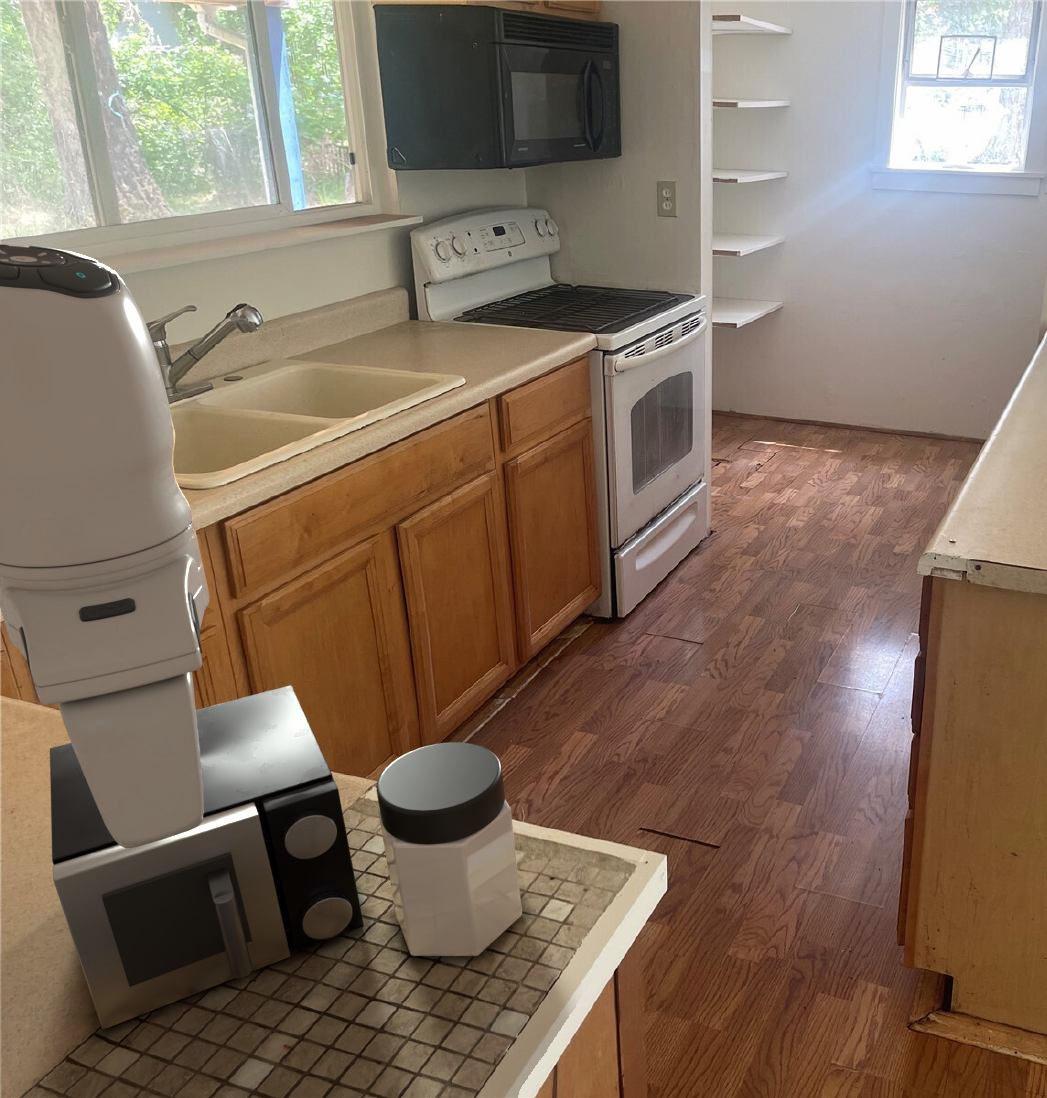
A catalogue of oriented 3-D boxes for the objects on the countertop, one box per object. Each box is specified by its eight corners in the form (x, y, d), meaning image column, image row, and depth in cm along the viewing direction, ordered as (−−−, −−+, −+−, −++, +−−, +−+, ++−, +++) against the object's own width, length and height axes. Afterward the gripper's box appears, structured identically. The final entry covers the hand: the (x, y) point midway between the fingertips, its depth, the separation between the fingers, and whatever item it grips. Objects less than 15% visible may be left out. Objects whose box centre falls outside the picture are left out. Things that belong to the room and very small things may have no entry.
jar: (533, 877, 77) (519, 740, 72) (510, 959, 69) (493, 812, 65) (413, 877, 77) (392, 740, 72) (378, 959, 69) (351, 812, 65)
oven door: (302, 991, 67) (269, 845, 62) (106, 1071, 61) (54, 917, 57) (286, 942, 71) (254, 801, 66) (101, 1013, 65) (52, 864, 61)
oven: (367, 936, 71) (340, 792, 67) (103, 1038, 63) (52, 883, 59) (316, 812, 84) (291, 684, 79) (92, 884, 76) (49, 748, 72)
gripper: (31, 532, 58) (89, 741, 63) (30, 692, 42) (108, 954, 47) (157, 511, 61) (202, 712, 66) (202, 653, 45) (256, 903, 50)
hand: (164, 814), depth 56 cm, fingers closed
